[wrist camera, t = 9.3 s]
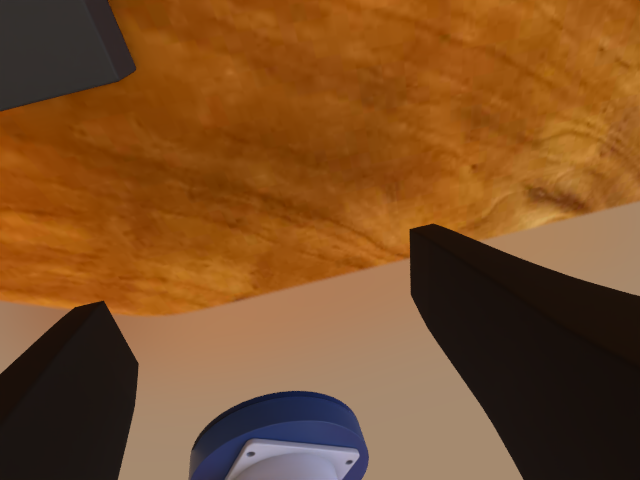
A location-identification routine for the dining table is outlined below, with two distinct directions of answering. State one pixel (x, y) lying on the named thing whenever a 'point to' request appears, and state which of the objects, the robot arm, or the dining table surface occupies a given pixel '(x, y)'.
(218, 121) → the dining table surface
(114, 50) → the pad
